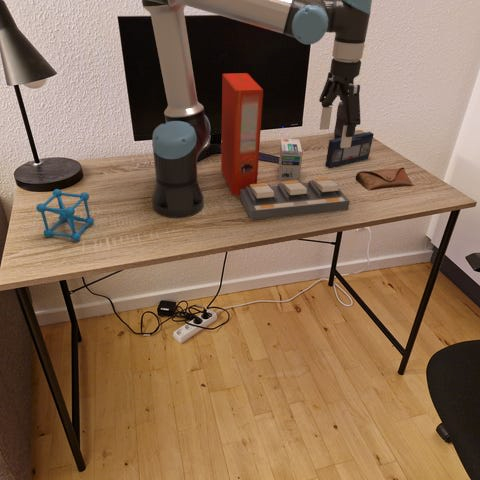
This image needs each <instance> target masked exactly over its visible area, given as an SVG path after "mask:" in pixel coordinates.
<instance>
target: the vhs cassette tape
mask: <svg viewBox="0 0 480 480" xmlns="http://www.w3.org/2000/svg"><path fill="white" fill-rule="evenodd" d="M341 139H342V138H337V139H335V138H333V139H329V140H328V141H329V142H328V145H327V146H328V147H327V151H326V152H327V154H326V159H325V160H326V161H325V163H324V165H325V167H326V168H327V169H330V168H331V169H333V168H334V167H335V168H338V167H344V166H347V165H351V164H356V163H359V162H362V161H368V160H369V157H370V153H371V149H372V144H373V140H374V133H373V132H371V131H366V132H361V133H357V134H354V135H353V136H352V141H351V146H350V147H348V148H341V147H340V144H341Z"/></svg>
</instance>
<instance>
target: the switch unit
mask: <svg viewBox="0 0 480 480" xmlns="http://www.w3.org/2000/svg"><path fill="white" fill-rule="evenodd" d="M329 179H330V180H332V178H329ZM299 182H300V183H301V184H302V185H303V186H305V187H306V188H307V194H297V195H290V194H289V193H287V192H286V191H285V190H284V189H283V187H282V186H281V184H282V183H277V185H271V184H267V185H268V186H269V187H270V188H271V189H272V190H273V191H274V197H267V198H256V197H255V195H254V194H253V193H252V192H251V190H250V188H249V187H246V189H240V195H239V199H240V200H241V203H242V204H243V206H244V208H245V211H246V213H247V215H248V217H249V220H250V221H256V220H257V221H258V220H267V219H274V218H275V219H276V218H284V217H294V216H302V215H303V216H304V215H311V214H312V215H313V214H319V213H320V214H321V213H322V214H323V213H330V212H331V213H332V212H338V211H339V212H341V211H347V210H349V207H350V201H351V200H349V198H348V197H347V196H346V195H345V194H344V193H343V191H342V190H341V189H340V188H339V187H338V191H328V192H322V191H321V190H319V189H318V188H317V187H316V186H315V185H314V184H313V183H312V180H308V181H307V182H305V183H302V182H301V181H299Z"/></svg>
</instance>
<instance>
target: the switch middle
mask: <svg viewBox="0 0 480 480" xmlns="http://www.w3.org/2000/svg"><path fill="white" fill-rule="evenodd" d="M300 182H301V181H297V180H293V181H281V183H280V184H281V186H282V187H283V189H284V190H285V191H286V192H287V193H289V194H290V195H297V194H307V188H306V187H305V186H303V185H302V184H301V183H302V182H301V183H300Z"/></svg>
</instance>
